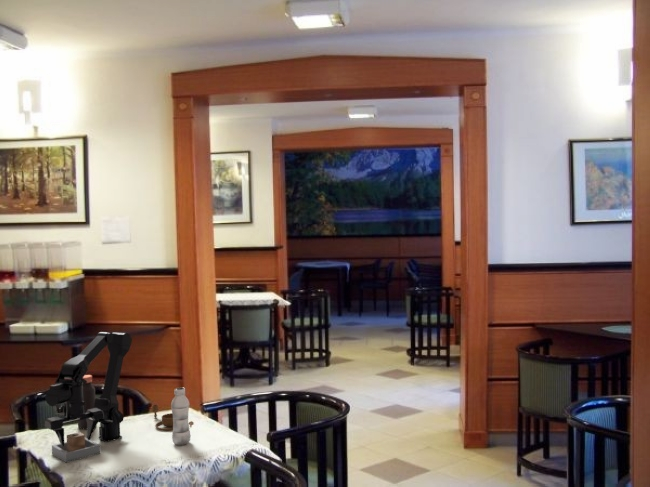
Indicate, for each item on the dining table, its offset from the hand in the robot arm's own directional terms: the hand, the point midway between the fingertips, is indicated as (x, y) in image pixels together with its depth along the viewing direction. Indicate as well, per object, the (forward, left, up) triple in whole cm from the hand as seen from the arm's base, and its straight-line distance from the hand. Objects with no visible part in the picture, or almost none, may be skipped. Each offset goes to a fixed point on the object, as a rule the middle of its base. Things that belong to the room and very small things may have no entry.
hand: (75, 442), depth 238 cm
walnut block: (0, 0, -3) cm, 3 cm away
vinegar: (-16, -27, -4) cm, 32 cm away
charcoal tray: (0, 0, -4) cm, 4 cm away
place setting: (-41, -6, -5) cm, 42 cm away
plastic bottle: (-31, +18, -4) cm, 36 cm away
